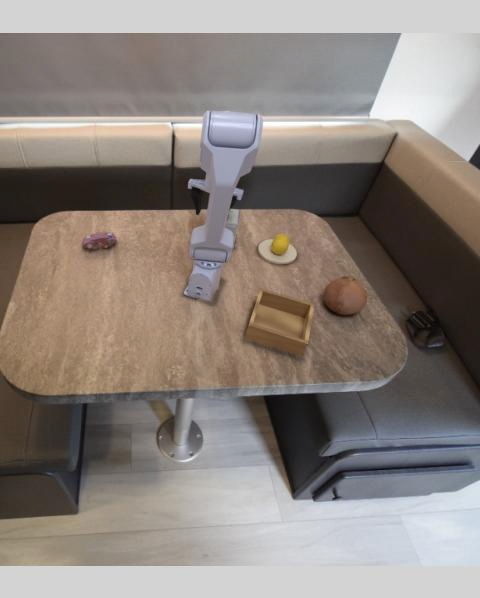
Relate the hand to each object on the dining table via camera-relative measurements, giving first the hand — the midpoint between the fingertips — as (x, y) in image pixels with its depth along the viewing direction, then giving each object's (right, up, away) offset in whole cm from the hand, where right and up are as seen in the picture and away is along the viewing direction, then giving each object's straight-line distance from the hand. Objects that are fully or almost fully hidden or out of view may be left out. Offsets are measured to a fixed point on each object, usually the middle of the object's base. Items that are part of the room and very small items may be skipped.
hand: (211, 216), depth 98 cm
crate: (+13, -30, -16) cm, 37 cm away
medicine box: (+6, -5, +8) cm, 11 cm away
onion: (+30, -26, -11) cm, 41 cm away
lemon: (+20, -9, +4) cm, 22 cm away
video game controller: (-32, -8, +4) cm, 33 cm away
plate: (+20, -9, +5) cm, 23 cm away
